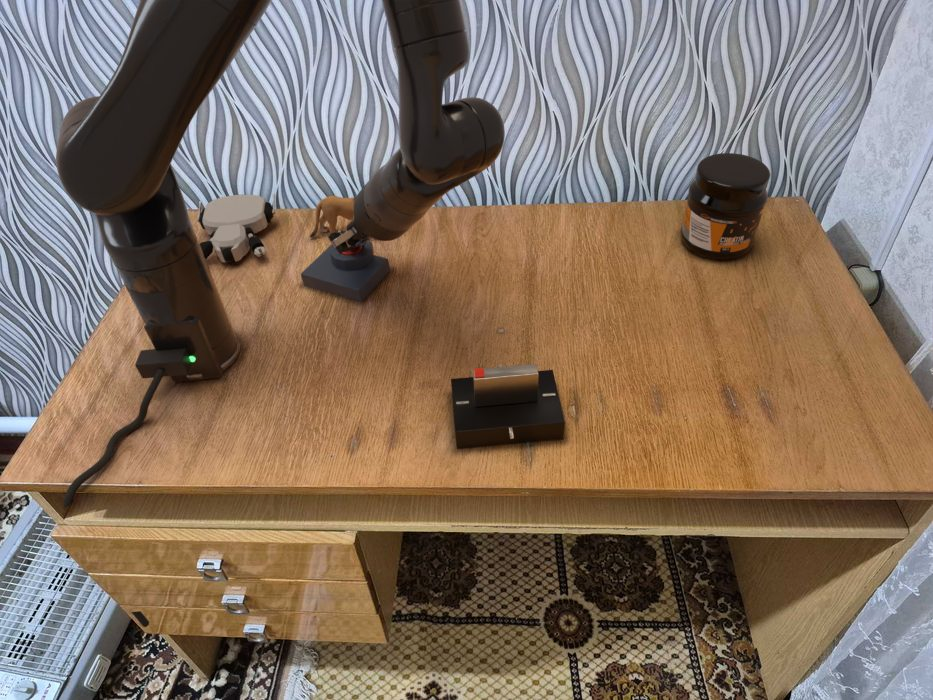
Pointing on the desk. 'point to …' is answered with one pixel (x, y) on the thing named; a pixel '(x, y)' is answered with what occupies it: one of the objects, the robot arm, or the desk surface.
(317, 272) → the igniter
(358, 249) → the button
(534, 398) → the knob
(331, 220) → the lion figurine
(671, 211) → the desk surface
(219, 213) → the robot toy
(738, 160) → the supplement container
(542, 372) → the panel
